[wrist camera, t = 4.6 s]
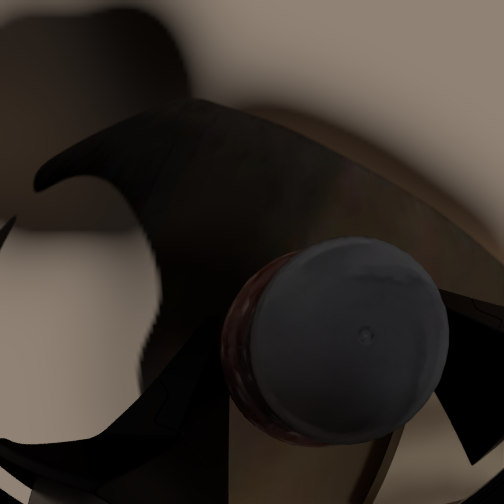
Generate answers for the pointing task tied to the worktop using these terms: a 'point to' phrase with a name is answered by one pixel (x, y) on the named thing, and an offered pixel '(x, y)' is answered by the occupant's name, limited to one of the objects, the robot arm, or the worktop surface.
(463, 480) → the beige square board
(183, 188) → the worktop surface
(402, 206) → the worktop surface
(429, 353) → the supplement bottle
